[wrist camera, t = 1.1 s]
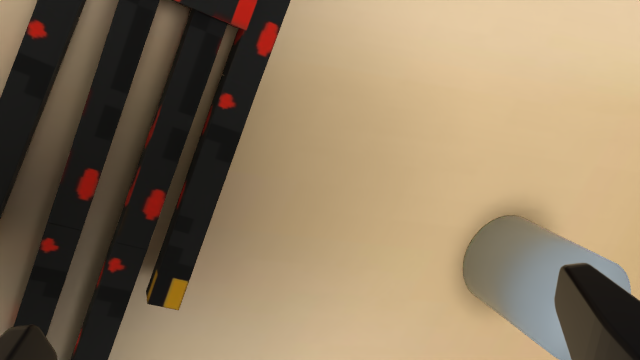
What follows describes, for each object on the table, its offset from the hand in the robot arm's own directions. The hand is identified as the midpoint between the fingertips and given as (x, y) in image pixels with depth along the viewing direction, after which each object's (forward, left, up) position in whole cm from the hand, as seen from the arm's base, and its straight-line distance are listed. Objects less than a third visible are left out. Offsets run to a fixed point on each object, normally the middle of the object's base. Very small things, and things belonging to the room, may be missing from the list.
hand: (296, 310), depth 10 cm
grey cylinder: (+9, -16, -15) cm, 23 cm away
